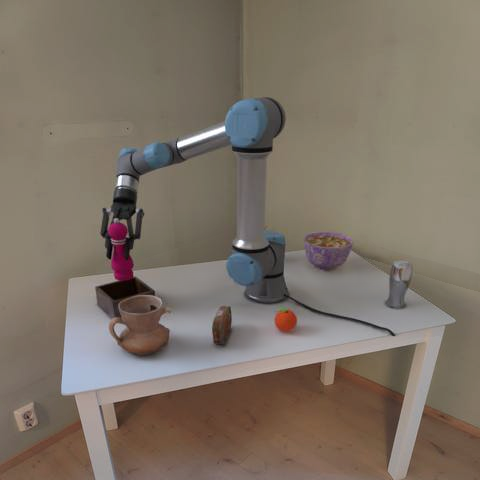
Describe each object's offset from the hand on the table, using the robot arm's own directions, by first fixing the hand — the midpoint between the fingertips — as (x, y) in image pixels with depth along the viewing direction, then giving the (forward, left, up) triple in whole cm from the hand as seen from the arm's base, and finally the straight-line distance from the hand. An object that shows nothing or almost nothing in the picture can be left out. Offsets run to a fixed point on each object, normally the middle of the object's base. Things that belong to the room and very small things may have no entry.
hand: (117, 257), depth 144 cm
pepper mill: (+3, -2, -8) cm, 9 cm away
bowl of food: (-12, -84, -19) cm, 87 cm away
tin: (-33, -17, -19) cm, 42 cm away
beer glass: (-51, -78, -19) cm, 95 cm away
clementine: (-41, -35, -19) cm, 57 cm away
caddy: (+3, -2, -19) cm, 20 cm away
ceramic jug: (-24, +5, -19) cm, 31 cm away
